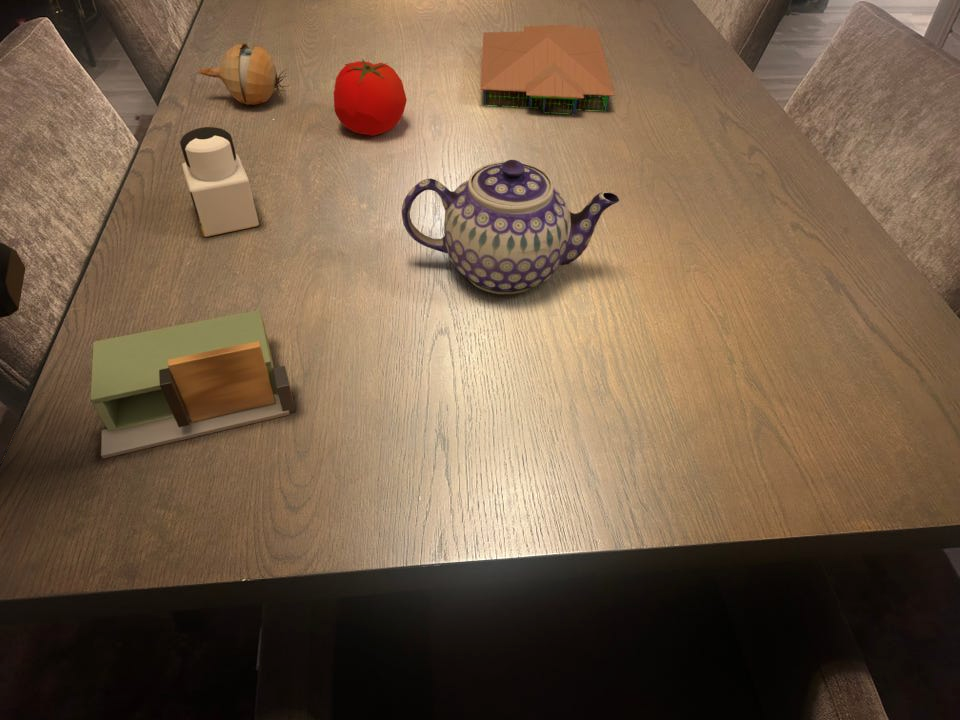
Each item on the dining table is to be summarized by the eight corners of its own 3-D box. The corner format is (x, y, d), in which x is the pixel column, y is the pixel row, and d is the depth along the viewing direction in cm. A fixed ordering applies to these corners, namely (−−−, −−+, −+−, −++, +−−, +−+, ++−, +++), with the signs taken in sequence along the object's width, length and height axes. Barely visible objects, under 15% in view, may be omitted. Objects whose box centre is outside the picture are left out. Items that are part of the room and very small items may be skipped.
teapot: (395, 301, 80) (387, 190, 69) (414, 227, 91) (409, 121, 80) (607, 317, 79) (632, 208, 68) (600, 241, 90) (621, 136, 79)
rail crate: (102, 458, 63) (81, 424, 59) (105, 378, 70) (86, 342, 66) (296, 413, 67) (287, 378, 64) (280, 341, 74) (271, 307, 71)
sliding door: (181, 434, 64) (156, 377, 58) (180, 419, 65) (155, 361, 60) (277, 412, 67) (262, 355, 61) (274, 397, 68) (259, 340, 62)
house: (479, 114, 114) (481, 66, 109) (483, 41, 138) (484, -2, 132) (613, 121, 115) (622, 73, 109) (594, 46, 138) (601, 3, 132)
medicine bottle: (195, 210, 91) (169, 126, 83) (248, 199, 94) (229, 117, 85) (204, 238, 87) (178, 153, 78) (259, 226, 89) (240, 142, 81)
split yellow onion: (288, 64, 106) (189, 35, 103) (281, 122, 112) (187, 96, 109) (299, 51, 114) (208, 24, 111) (292, 105, 119) (205, 81, 116)
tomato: (322, 122, 110) (313, 58, 103) (381, 105, 116) (377, 43, 108) (360, 152, 104) (354, 86, 97) (421, 132, 109) (420, 69, 102)
